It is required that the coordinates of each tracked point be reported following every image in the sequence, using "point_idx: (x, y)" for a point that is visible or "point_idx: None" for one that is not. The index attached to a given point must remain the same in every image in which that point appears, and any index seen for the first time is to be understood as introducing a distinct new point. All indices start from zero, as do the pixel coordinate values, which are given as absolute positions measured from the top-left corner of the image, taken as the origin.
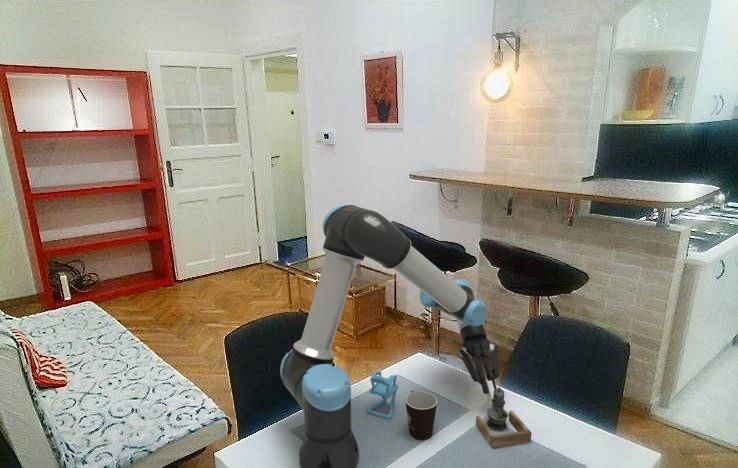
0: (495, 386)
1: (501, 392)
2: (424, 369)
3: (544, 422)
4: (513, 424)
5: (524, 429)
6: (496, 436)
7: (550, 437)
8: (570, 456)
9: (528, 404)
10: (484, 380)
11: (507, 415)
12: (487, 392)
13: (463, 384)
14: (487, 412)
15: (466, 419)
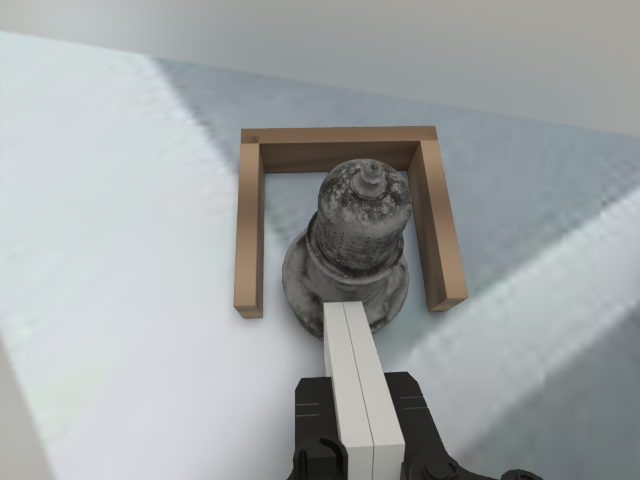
0: (302, 414)
1: (358, 160)
2: None
3: (92, 267)
4: (262, 265)
5: (259, 155)
6: (414, 135)
7: (147, 171)
8: (152, 76)
9: (49, 450)
10: (432, 455)
11: (297, 242)
12: (395, 373)
13: None
14: (404, 289)
15: (484, 371)
